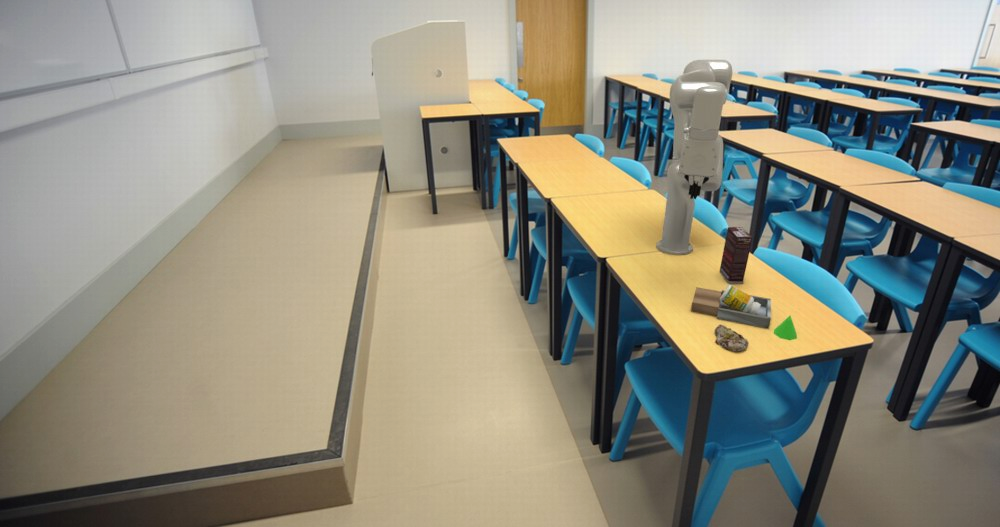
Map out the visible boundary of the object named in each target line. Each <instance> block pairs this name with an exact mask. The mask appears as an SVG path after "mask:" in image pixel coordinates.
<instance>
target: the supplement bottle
mask: <svg viewBox="0 0 1000 527" xmlns="http://www.w3.org/2000/svg"><path fill="white" fill-rule="evenodd" d="M752 296H753V295H752ZM752 296H750V294H748V293H747V292H746V293H745V292H744V291H742V290H740V289H739V288H737V287H736V286H733V285H731V284H729V285H727V287H726V289H724V293H723V294H722V296H721V298H720V301H721V302H723V303H725V304H726V305H728V306H730V307H732V308H733V309H735V310H737V311H739V312H744V313H746V312H747V313H749V314H754V315H755V314H756V312H757V311H758V309H759V308H760V306H761V304H759V303H758V302H754V298H753V297H752Z"/></svg>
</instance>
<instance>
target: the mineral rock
mask: <svg viewBox="0 0 1000 527" xmlns="http://www.w3.org/2000/svg"><path fill="white" fill-rule="evenodd" d="M714 336H715V337H716V340H715V343H716V344H717V346H719V347H721V348H722V349H724V350H730V351H732V352H740V351H747V347H748V346H749V341H748V339H747V338H745V337H744V336H743V335H742V334H741V333H738V332H737V331H735V330H733V329H732V328H731V327H729V328H728V327H727V326H726V325H724V324H718V325H717V326H716V328H715V329H714Z"/></svg>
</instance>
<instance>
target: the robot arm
mask: <svg viewBox="0 0 1000 527" xmlns="http://www.w3.org/2000/svg"><path fill="white" fill-rule="evenodd" d="M732 78H733V67H732V64H731V63H730V62H729V61H728V60H726V59H696V60H692V61H690V62H689V63H687V65H686V66H685V67H684V70H683V72H682V74H680V75H679V76H678V77H676V79H675V81H673V82H672V84H671V85H670V88H669V106H670V111H671V114H672V117H673V121H674V129H673V131H674V132H673V145H672V146H673V149H672V150H673V156H674V157H675V159H678V160H679V161H674V162H672V163H671V164H670V165H669V167H668V169H667V172H666V174H667V175H666V179H667V180H666V181H667V182H666V183H667V184H666V185H667V190H666V202H665V212H664V219H663V226H662V234H661V239H660V240H658V241H657V242H656V249H657V250H659V251H660V252H662V253H665V254H669V255H675V256H681V255H682V256H683V255H688V254H691V253H692V252H693V250H694V246H693V244H691V243H690V241H691V240H690V239H691V234H692V226H693V220H694V219H693V218H694V214H695V208H696V207H695V205H696V202H695V200H697V198H698V196H700V195H701V191H702V192H715V191H717V190H718V189H720V187H721V185H722V181H723V167H724V163H723V162H724V140H723V137H722V136H721V134H719V131H720V124H721V119H722V113H723V106H724V105H725V104H726V102H727V99H728V89H729V87H730V84H731V82H732Z"/></svg>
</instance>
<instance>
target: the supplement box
mask: <svg viewBox="0 0 1000 527" xmlns="http://www.w3.org/2000/svg"><path fill="white" fill-rule="evenodd" d="M752 241H753V236H752V234H751V235H750V233H749V232H748V231H747V230H746V229H745V228H743V227H740V226H735V227H734V226H733V227H732V226H730V227H727V230H726V235H725V240H724V244H723V250H722V256H721V262H720V266H719V273H720V275H721V276H722V278H724V280H725V281H726V282H727V284H729V285H731V284H733V285H735V284H736V285H738V284H739V285H743V284H744V281H745V280H744V279H745V276H746V275H745V274H746V271H747V270H746V269H747V265H748V261H749V257H750V252H751V247H752Z"/></svg>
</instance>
